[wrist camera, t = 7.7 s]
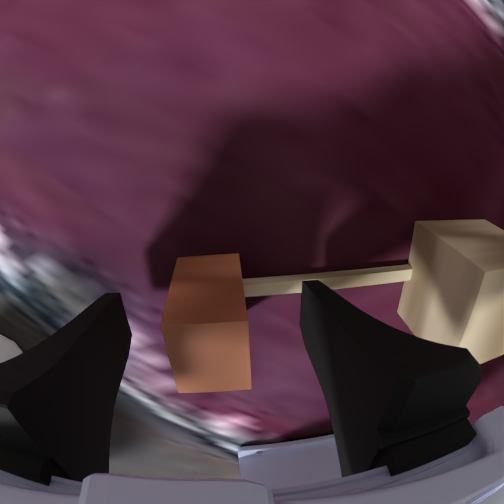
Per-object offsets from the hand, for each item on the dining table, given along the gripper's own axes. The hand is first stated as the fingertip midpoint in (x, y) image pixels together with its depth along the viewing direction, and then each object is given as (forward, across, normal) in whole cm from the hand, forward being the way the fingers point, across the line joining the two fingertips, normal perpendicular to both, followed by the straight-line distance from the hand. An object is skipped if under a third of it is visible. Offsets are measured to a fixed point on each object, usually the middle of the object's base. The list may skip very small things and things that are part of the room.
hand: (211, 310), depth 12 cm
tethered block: (+2, -6, 0) cm, 7 cm away
